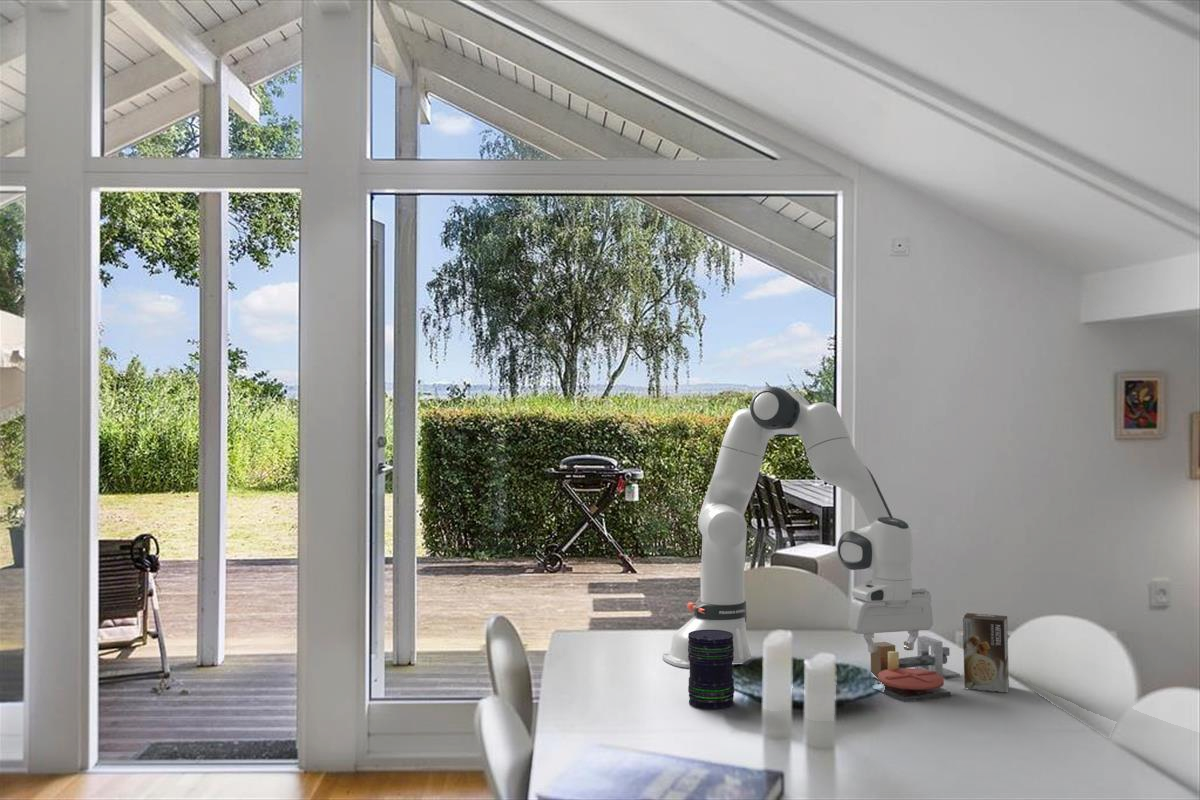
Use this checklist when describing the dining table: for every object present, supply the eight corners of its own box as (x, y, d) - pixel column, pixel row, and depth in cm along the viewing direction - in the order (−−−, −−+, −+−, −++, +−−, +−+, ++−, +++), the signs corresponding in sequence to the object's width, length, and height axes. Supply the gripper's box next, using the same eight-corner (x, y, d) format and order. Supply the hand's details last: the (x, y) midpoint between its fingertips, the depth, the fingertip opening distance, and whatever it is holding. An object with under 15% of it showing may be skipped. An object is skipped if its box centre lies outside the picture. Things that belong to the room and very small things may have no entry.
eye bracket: (938, 678, 253) (938, 643, 253) (914, 669, 262) (914, 635, 262) (959, 676, 255) (959, 641, 255) (935, 667, 264) (935, 633, 264)
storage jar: (700, 695, 241) (700, 627, 241) (741, 701, 236) (741, 632, 236) (680, 706, 232) (679, 636, 232) (722, 712, 227) (721, 641, 227)
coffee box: (1010, 686, 246) (1009, 615, 246) (1006, 693, 240) (1005, 620, 240) (967, 682, 250) (967, 612, 250) (962, 688, 244) (962, 617, 244)
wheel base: (904, 701, 234) (904, 695, 234) (872, 688, 245) (872, 682, 245) (950, 696, 238) (950, 690, 238) (917, 683, 249) (917, 677, 249)
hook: (880, 680, 251) (880, 646, 251) (870, 676, 255) (870, 643, 255) (953, 672, 258) (953, 639, 258) (942, 668, 261) (942, 636, 261)
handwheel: (864, 681, 246) (864, 654, 246) (914, 675, 251) (914, 648, 251) (905, 697, 233) (905, 668, 233) (957, 689, 238) (957, 661, 238)
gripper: (922, 585, 253) (921, 645, 253) (845, 589, 247) (844, 650, 247) (939, 590, 247) (938, 651, 247) (860, 594, 241) (859, 657, 241)
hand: (890, 651), depth 247 cm, fingers open, 8 cm apart
